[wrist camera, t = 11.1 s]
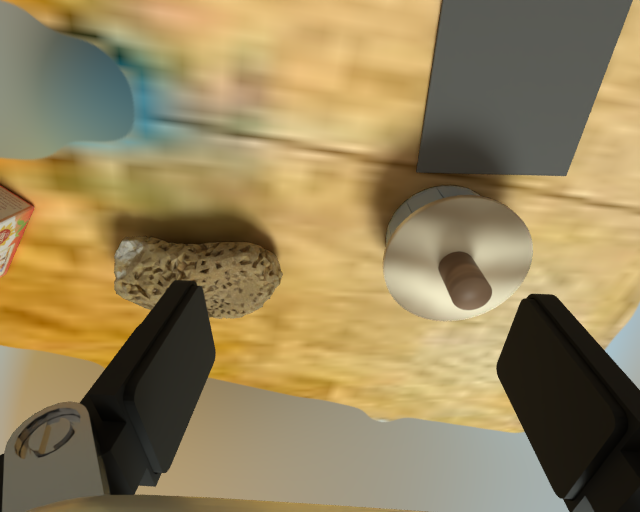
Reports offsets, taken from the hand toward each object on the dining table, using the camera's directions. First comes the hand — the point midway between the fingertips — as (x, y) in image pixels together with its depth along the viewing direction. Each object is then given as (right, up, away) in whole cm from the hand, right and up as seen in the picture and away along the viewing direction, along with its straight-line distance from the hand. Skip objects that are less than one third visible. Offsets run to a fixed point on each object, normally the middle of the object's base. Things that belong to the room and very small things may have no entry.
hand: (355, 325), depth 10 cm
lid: (+13, +2, +26) cm, 30 cm away
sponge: (-16, +1, +36) cm, 39 cm away
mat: (+18, +18, +23) cm, 34 cm away
